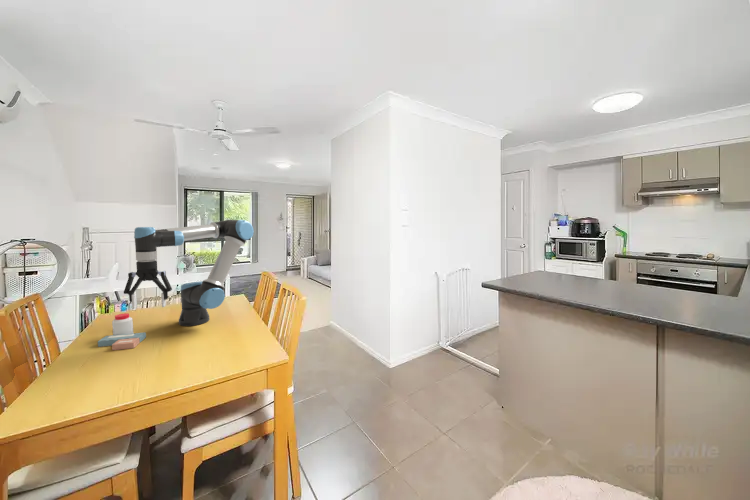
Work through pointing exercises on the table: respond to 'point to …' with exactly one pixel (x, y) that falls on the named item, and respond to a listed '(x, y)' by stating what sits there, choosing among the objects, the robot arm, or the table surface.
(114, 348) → the pink labeled box
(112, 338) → the blue labeled box
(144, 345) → the table surface
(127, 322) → the pill bottle
